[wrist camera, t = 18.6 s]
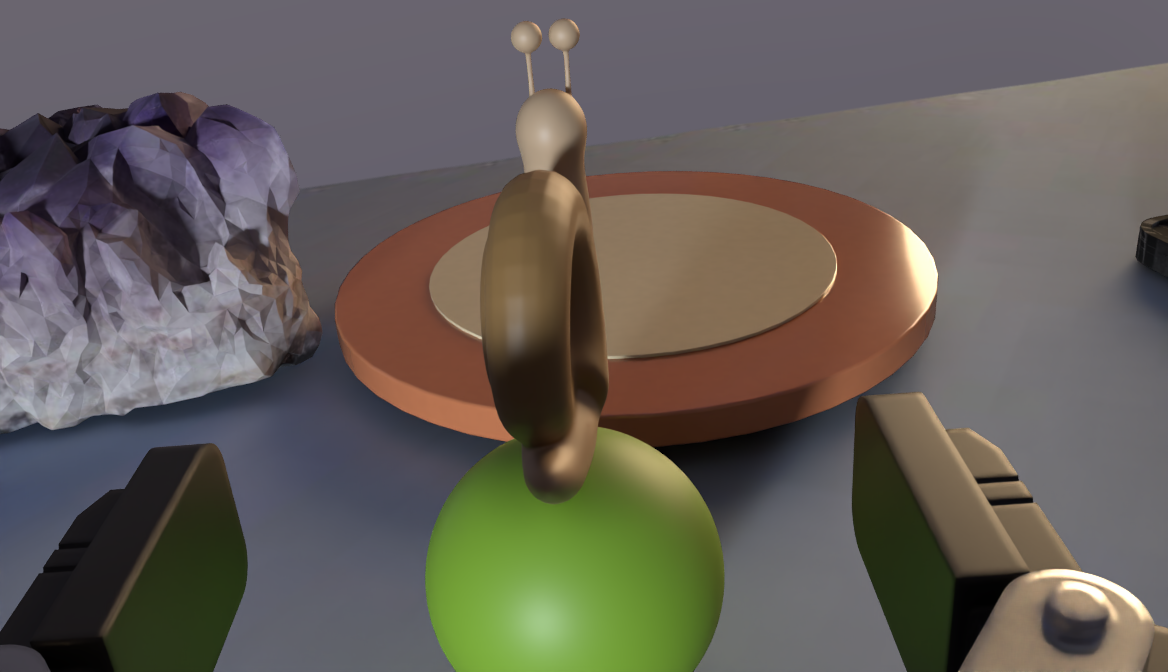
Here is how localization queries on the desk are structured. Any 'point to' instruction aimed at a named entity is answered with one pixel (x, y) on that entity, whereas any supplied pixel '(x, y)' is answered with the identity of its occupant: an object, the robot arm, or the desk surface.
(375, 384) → the plate
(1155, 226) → the phone
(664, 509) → the snail figurine
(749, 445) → the desk surface
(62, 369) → the geode
